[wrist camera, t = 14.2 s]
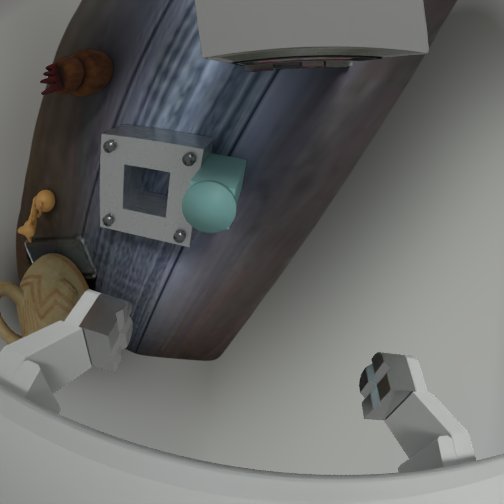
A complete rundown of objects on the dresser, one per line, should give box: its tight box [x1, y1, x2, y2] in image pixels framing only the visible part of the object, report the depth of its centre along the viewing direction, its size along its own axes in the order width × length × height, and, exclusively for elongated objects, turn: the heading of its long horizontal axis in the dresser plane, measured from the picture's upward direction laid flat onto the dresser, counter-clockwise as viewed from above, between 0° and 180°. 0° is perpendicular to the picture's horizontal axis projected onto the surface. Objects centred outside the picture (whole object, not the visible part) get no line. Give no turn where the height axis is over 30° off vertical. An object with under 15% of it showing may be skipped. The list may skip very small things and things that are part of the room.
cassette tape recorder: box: [195, 0, 429, 72], centre depth 24 cm, size 14×6×25 cm, turn 97°
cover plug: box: [182, 153, 247, 233], centre depth 40 cm, size 6×6×13 cm
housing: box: [100, 124, 215, 247], centre depth 43 cm, size 14×14×8 cm
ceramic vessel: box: [0, 253, 89, 345], centre depth 48 cm, size 17×20×25 cm
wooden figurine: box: [40, 49, 113, 97], centre depth 31 cm, size 7×6×15 cm
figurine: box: [18, 190, 55, 243], centre depth 44 cm, size 8×6×12 cm
